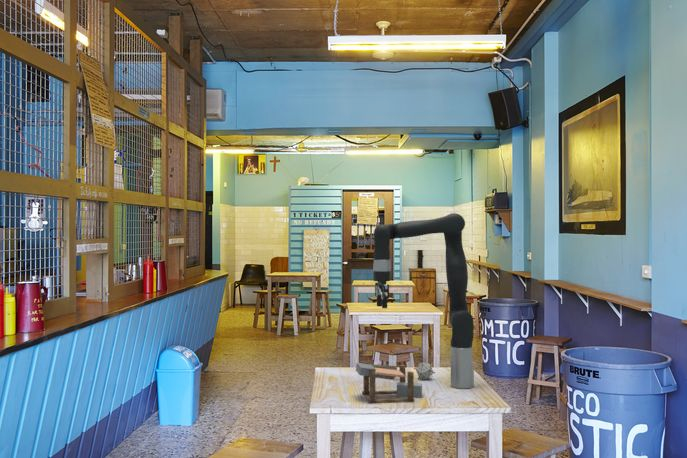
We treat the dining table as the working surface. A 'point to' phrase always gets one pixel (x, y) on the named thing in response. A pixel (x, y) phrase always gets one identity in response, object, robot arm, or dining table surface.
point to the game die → (424, 370)
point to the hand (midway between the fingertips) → (381, 307)
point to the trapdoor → (377, 370)
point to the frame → (370, 390)
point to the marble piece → (384, 368)
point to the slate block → (403, 390)
